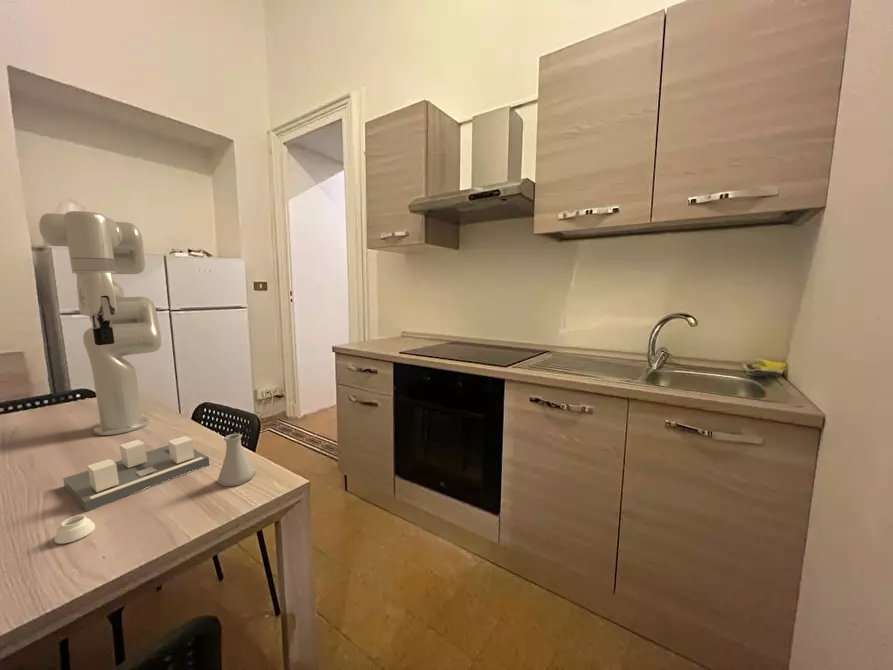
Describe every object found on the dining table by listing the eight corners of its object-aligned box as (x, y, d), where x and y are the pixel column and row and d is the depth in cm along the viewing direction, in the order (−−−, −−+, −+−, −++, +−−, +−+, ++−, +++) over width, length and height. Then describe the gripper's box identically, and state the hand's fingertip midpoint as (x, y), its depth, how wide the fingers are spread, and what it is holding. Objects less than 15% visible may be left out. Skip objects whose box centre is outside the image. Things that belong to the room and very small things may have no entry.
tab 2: (122, 463, 86) (119, 444, 85) (140, 457, 89) (138, 439, 88) (128, 467, 84) (125, 449, 83) (147, 461, 87) (144, 443, 86)
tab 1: (90, 486, 76) (87, 465, 76) (112, 478, 79) (109, 458, 79) (96, 492, 74) (93, 471, 74) (119, 484, 77) (116, 463, 76)
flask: (239, 489, 79) (234, 444, 78) (210, 485, 81) (205, 442, 79) (262, 472, 86) (258, 431, 85) (235, 469, 88) (231, 428, 86)
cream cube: (170, 459, 88) (168, 441, 87) (187, 453, 91) (184, 435, 90) (177, 463, 86) (175, 445, 85) (194, 457, 89) (192, 439, 88)
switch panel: (64, 486, 81) (63, 477, 80) (180, 448, 99) (179, 440, 98) (85, 511, 72) (84, 501, 71) (209, 464, 90) (208, 456, 89)
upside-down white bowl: (64, 530, 66) (48, 549, 62) (62, 515, 66) (45, 533, 62) (100, 523, 68) (87, 540, 64) (98, 508, 68) (85, 524, 63)
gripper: (63, 267, 88) (75, 343, 91) (80, 265, 80) (93, 349, 82) (104, 268, 94) (114, 339, 97) (125, 266, 86) (135, 344, 89)
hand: (104, 344), depth 90 cm, fingers closed
